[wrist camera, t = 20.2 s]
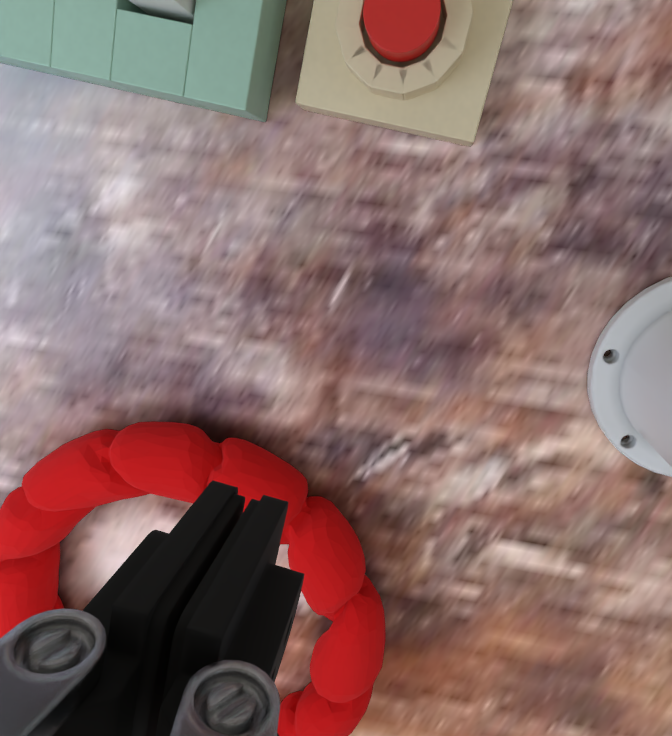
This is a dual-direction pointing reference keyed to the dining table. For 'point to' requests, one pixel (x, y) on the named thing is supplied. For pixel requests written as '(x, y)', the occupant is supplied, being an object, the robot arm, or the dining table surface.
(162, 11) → the white block with knob
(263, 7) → the green socket board
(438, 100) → the switch box
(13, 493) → the decorative ring
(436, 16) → the power button
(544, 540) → the dining table surface
